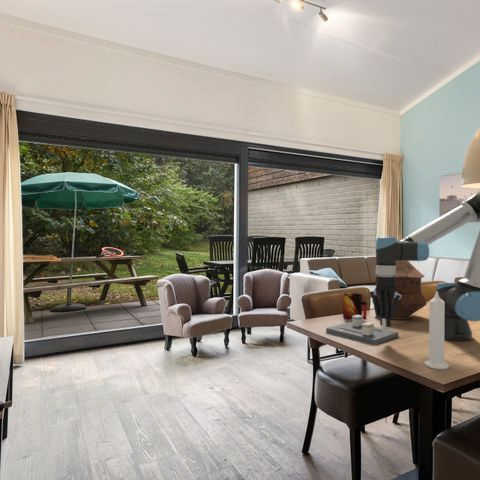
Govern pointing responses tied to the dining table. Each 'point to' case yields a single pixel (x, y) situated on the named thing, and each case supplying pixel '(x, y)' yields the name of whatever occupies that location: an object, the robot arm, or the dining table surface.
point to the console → (356, 333)
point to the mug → (353, 305)
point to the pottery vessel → (408, 289)
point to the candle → (436, 333)
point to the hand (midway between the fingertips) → (385, 334)
